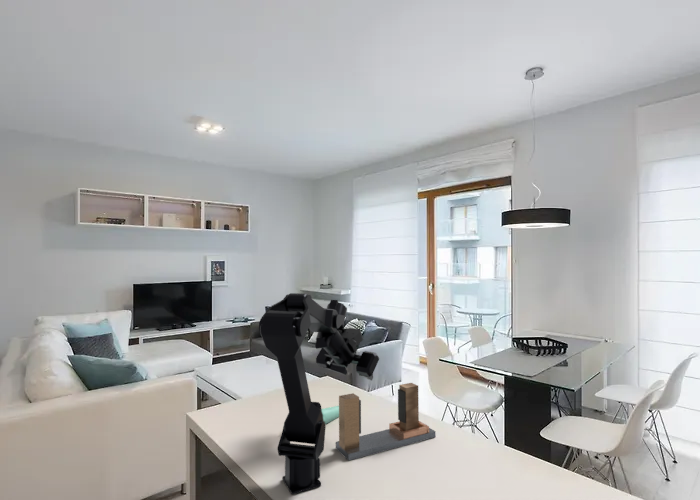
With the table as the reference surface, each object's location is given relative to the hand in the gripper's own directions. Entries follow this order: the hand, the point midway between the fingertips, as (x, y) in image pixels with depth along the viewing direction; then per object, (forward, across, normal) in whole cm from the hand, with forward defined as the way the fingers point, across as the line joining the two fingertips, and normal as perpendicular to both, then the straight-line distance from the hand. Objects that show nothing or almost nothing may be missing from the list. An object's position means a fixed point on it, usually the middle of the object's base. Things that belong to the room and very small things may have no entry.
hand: (358, 376), depth 112 cm
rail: (+6, -13, +13) cm, 19 cm away
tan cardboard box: (+10, -16, +8) cm, 20 cm away
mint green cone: (+9, +9, +11) cm, 17 cm away
